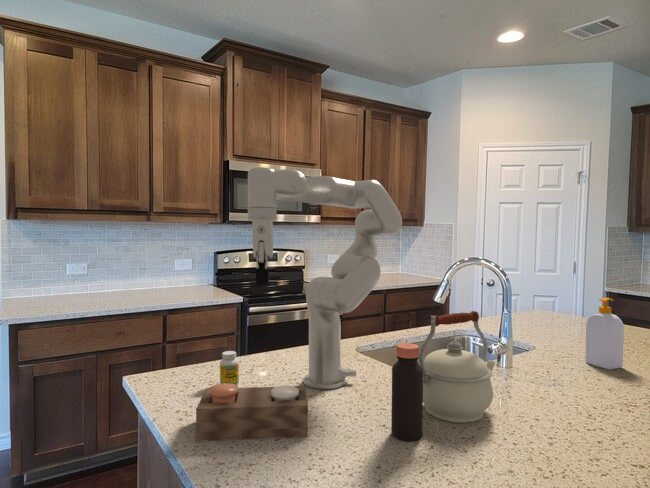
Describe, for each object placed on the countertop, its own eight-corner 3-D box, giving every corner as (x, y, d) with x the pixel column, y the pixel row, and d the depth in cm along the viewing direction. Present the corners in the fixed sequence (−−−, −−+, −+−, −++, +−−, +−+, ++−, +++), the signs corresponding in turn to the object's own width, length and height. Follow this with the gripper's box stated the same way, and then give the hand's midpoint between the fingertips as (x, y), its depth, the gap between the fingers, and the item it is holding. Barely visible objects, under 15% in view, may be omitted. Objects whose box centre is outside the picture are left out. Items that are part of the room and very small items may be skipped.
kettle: (446, 435, 97) (448, 324, 96) (396, 406, 113) (397, 310, 112) (523, 414, 108) (525, 314, 108) (467, 390, 125) (469, 303, 124)
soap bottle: (624, 367, 146) (626, 299, 146) (610, 370, 144) (612, 300, 143) (598, 360, 155) (600, 296, 154) (585, 362, 152) (586, 297, 151)
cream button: (298, 409, 105) (298, 385, 105) (299, 421, 99) (299, 395, 98) (271, 410, 104) (271, 385, 104) (270, 422, 98) (270, 395, 98)
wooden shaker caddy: (305, 413, 108) (305, 385, 108) (307, 436, 96) (308, 405, 96) (205, 417, 106) (205, 388, 105) (196, 441, 94) (196, 409, 93)
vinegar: (415, 445, 93) (417, 351, 92) (386, 436, 96) (387, 346, 96) (426, 432, 98) (427, 344, 98) (398, 425, 102) (399, 340, 101)
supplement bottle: (234, 380, 132) (234, 349, 131) (241, 386, 127) (241, 353, 127) (217, 384, 129) (217, 351, 128) (223, 389, 124) (223, 356, 124)
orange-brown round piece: (239, 407, 104) (239, 382, 103) (236, 419, 97) (236, 392, 97) (211, 408, 103) (211, 383, 103) (207, 420, 97) (206, 393, 96)
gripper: (276, 214, 108) (275, 287, 109) (276, 216, 123) (276, 280, 124) (245, 213, 108) (245, 288, 108) (249, 215, 122) (249, 281, 123)
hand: (262, 284), depth 116 cm, fingers closed
